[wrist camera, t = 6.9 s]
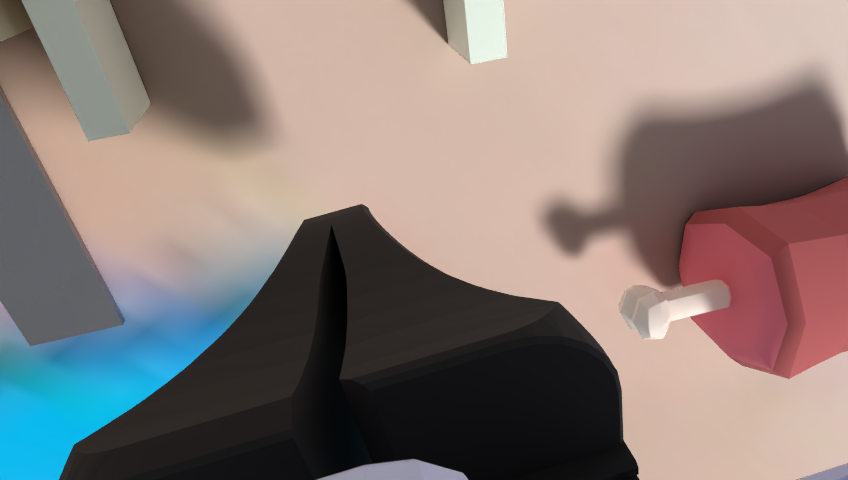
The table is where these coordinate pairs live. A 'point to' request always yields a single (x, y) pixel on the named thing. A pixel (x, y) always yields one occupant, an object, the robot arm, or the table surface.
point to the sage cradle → (120, 81)
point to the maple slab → (13, 19)
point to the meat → (760, 282)
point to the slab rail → (43, 250)
